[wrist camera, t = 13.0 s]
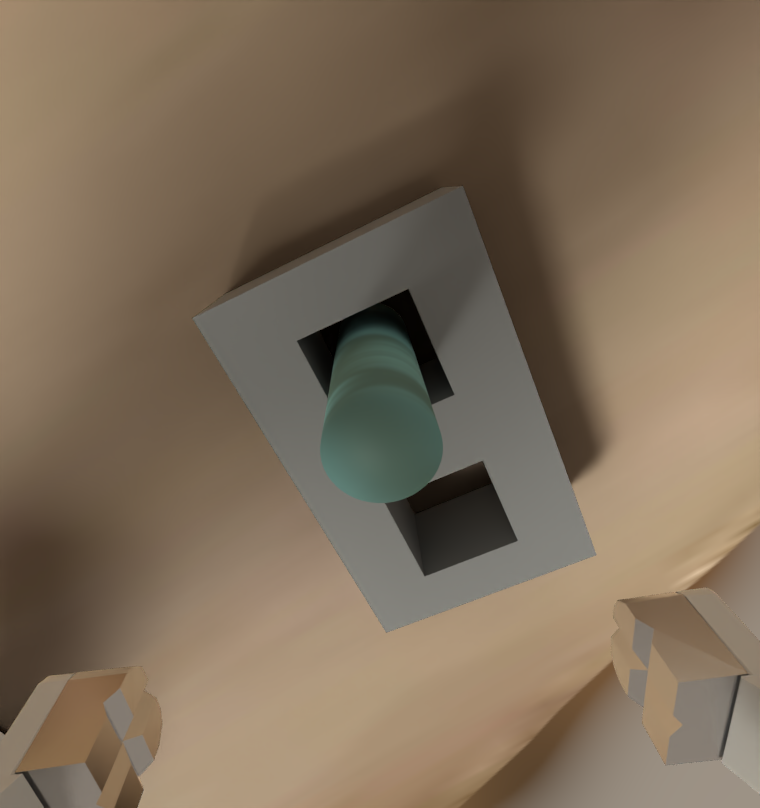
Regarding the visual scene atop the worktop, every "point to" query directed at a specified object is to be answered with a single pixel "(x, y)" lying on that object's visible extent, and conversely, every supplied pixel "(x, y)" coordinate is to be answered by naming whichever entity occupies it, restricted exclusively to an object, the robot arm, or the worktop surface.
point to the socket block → (450, 398)
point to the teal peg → (378, 412)
